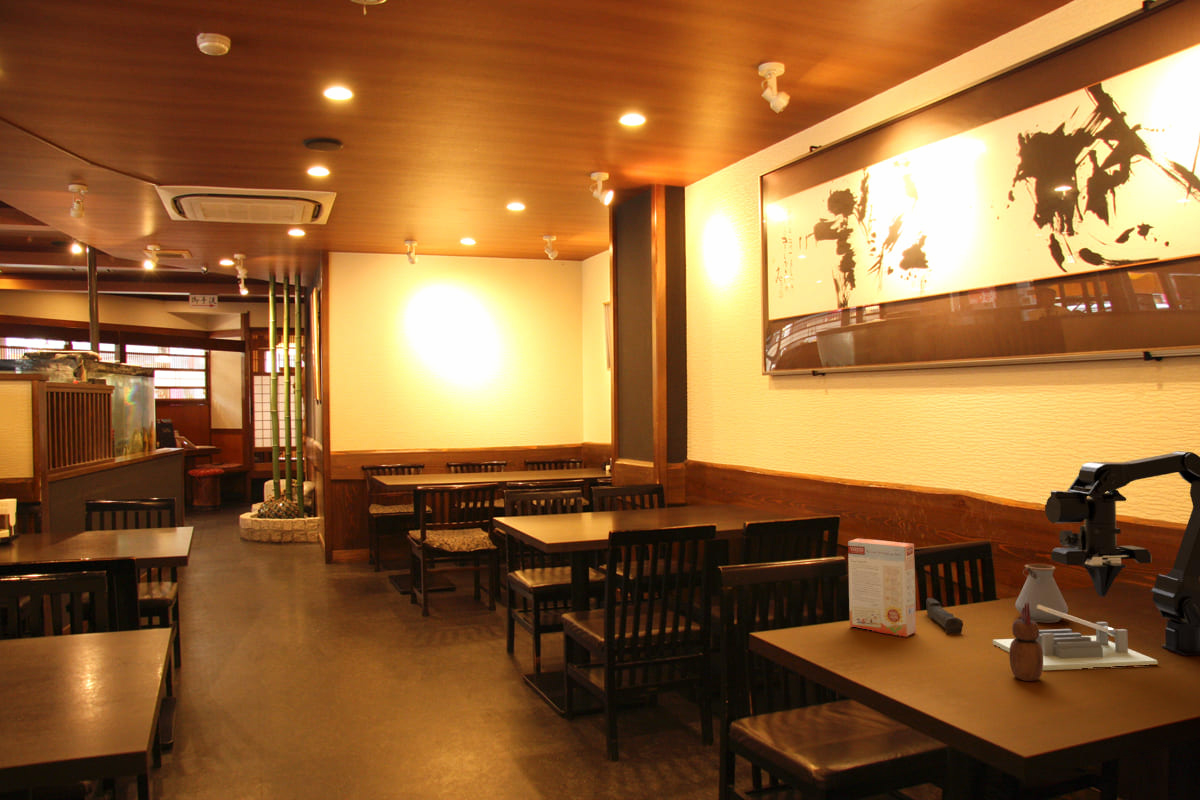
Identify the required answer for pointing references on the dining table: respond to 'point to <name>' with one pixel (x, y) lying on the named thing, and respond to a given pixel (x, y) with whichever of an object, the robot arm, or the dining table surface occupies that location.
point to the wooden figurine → (1026, 648)
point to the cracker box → (882, 586)
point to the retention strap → (1079, 621)
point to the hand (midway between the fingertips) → (1101, 596)
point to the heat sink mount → (1083, 649)
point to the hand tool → (943, 617)
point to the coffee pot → (1041, 594)
